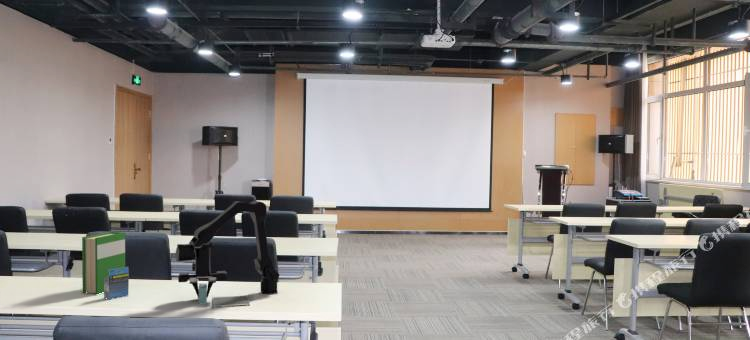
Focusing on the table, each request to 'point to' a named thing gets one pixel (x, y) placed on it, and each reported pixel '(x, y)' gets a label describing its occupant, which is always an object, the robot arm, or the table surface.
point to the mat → (231, 301)
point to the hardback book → (101, 259)
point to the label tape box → (116, 283)
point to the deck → (203, 293)
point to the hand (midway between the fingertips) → (202, 297)
